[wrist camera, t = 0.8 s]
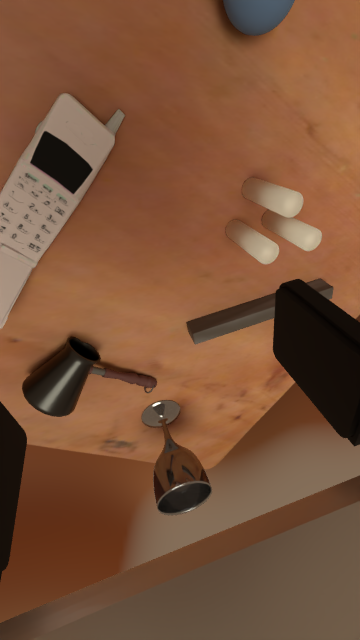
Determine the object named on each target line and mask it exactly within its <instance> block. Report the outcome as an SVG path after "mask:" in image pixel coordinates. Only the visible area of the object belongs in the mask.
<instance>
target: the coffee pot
mask: <svg viewBox="0 0 360 640" xmlns="http://www.w3.org/2000/svg"><path fill="white" fill-rule="evenodd" d="M100 359H101V358H100V355H99V353H98V352H97V351H96V349H95V348H94V347H92V346H91V345H90V344H88V343H83V342H81V341H80V340H79V339H77V338H75V337H70V338H68V340H67V344H66V348H65V349H63V350H62V351H61V352H59V353H58V354H57V355H56V356H54V357H53V358H52V359H50V360H49V361H48V362H46V363H45V364H44V365H43V366H41V367H40V368H39V369H37V370H36V371H35V372H33V373H32V374H31V375H30V376H28V377H27V378H26V379H25V381H24V382H23V385H22V391H23V394H24V397H25V398H26V400H27V401H28V402H29V404H31V405H32V406H33V407H34V408H35V409H37V410H38V411H40V412H42V413H44V414H47V415H50V416H56V417H62V416H66V415H69V414H70V413H72V412H73V411H74V409H75V406H76V404H77V401H78V399H79V396H80V394H81V391H82V389H83V386H84V384H85V381H86V379H87V376H88V374H91V373H92V374H97V375H102V377H105V378H114V379H120V380H122V381H125V382H128V383H130V384H135V383H136V384H137V385H139V386H145V387H144V390H145V392H146V393H150V392H151V391H152V390H153V388H154V387H156V385H157V381H156V379H154V378H152V377H149V376H147V377H146V376H144V375H137V374H136V373H123V372H117V371H114V370H111V369H108V368H104V369H102V368H98V367H94V366H93V364H95V363H97V362H99V361H100ZM146 388H152V389H151V391H149V392H147V391H146Z"/></svg>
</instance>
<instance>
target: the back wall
mask: <svg viewBox="0 0 360 640" xmlns="http://www.w3.org/2000/svg"><path fill="white" fill-rule="evenodd" d="M306 284H308V285H309V286H310V287H312V288H313V289H315V290H316V291H317V292H319V293H320V294H321V295H323V296H324V297H325V298H327V299H328V300H329V299H332V294H333V287H332V286H331V285H329V284H328V283H326V282H325V281H323V280H322V279H317V280H314V281H311V282H308V283H306ZM275 295H276V293H274V294H271V295H268V296H265V297H262V298H259V299H256V300H253V301H250V302H247V303H244V304H240V305H237V306H234V307H231V308H228V309H225V310H222V311H219V312H216V313H213V314H210V315H207V316H204V317H201V318H198V319H195V320H191V321H188V322H187V327H188V332H189V334H190V336H191V338H192V340H193V342H194V344H198V343H201V342H204V341H207V340H210V339H213V338H216V337H219V336H222V335H225V334H228V333H231V332H234V331H237V330H240V329H243V328H246V327H249V326H252V325H255V324H258V323H261V322H263V321H266V320H269V319H272V318H274V316H275Z"/></svg>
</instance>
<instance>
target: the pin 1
mask: <svg viewBox="0 0 360 640" xmlns="http://www.w3.org/2000/svg"><path fill="white" fill-rule="evenodd" d="M225 232H226V235H227V236H228V237H229V238H230V239H231V240H233V241H234V242H235V243H236V244H238V245H239V246H240V247H241V248H243V249H244V250H245V251H247V252H248V253H249V254H250V255H252V256H253V257H254V258H255V259H257V260H258V261H259V262H261V263H262V264H269V263H271V262H273V261H274V260H275V259H276V258H277V256H278V254H279V247H278V245H277V244H276V243H275V242H273V241H271V240H270V239H268V238H267V237H265V236H263V235H262V234H260V233H259V232H257V231H255V230H254V229H252V228H251V227H249V226H248V225H246V224H244V223H243V222H241V221H240V220H236V219H235V220H232V221H230V222H229V223H228V224H227V226H226V229H225Z"/></svg>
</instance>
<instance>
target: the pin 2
mask: <svg viewBox="0 0 360 640" xmlns="http://www.w3.org/2000/svg"><path fill="white" fill-rule="evenodd" d="M262 225H263V226H264V227H265V228H267V229H269V230H271V231H272V232H274V233H276V234H277V235H279V236H281V237H283V238H284V239H286V240H288V241H290V242H291V243H293V244H295V245H296V246H298V247H300V248H302V249H303V250H305V251H311V250H313V249H315V248H316V247H317V246H318V245H319V243H320V242H321V239H322V233H321V231H320V230H319V229H316V228H314V227H312V226H310V225H308V224H306V223H303V222H301V221H299V220H297V219H295V218H292V217H291V218H287V217H284V216H282V215H280V214H278V213H276V212H274V211H272V210H267V211H266V212H265V213H264V215H263V217H262Z"/></svg>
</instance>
